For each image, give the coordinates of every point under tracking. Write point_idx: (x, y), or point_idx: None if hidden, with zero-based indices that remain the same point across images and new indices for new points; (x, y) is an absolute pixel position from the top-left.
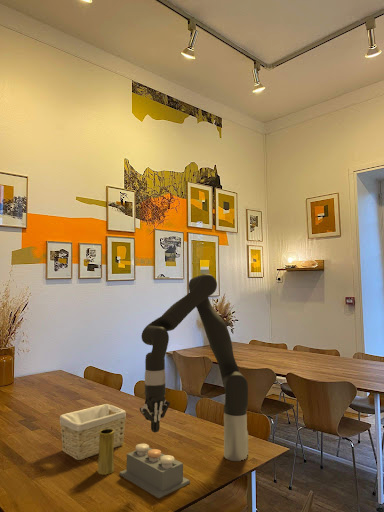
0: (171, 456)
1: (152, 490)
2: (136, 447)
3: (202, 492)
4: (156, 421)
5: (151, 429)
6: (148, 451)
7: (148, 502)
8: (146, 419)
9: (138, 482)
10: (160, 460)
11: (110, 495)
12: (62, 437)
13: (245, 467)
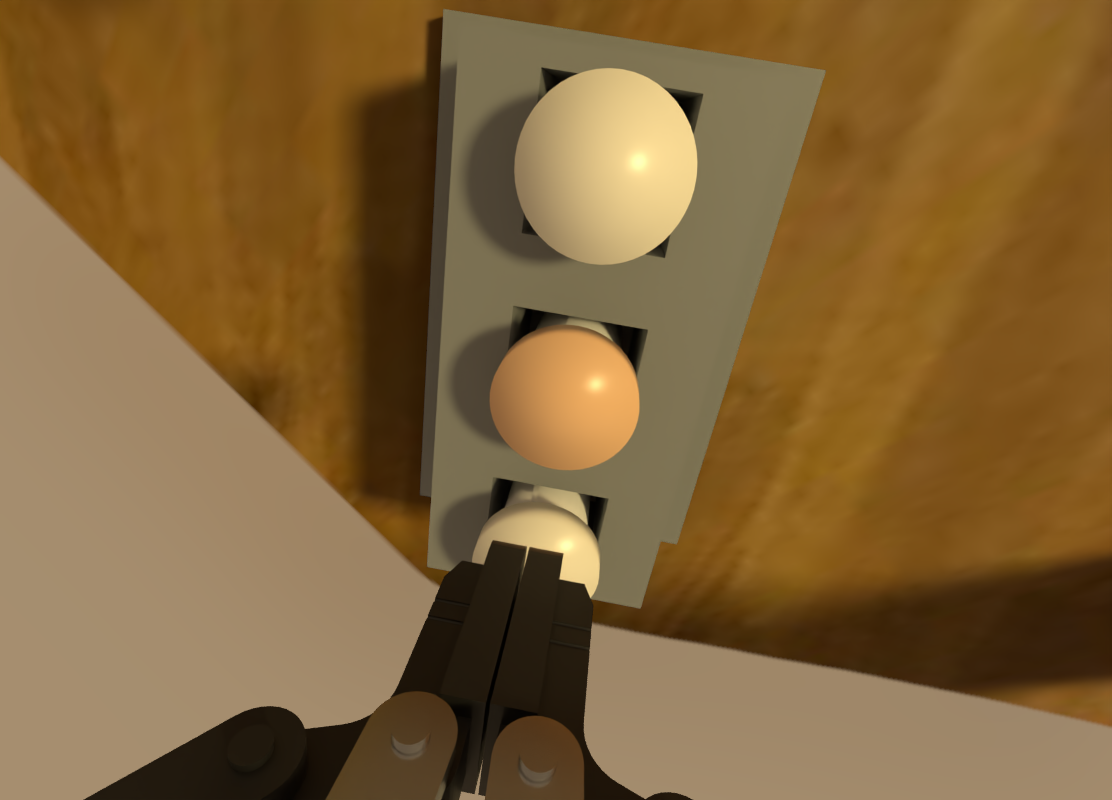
0: (585, 581)
1: (430, 437)
2: (526, 134)
3: (626, 620)
4: (471, 780)
5: (447, 581)
6: (533, 347)
7: (361, 461)
8: (228, 726)
9: (435, 296)
10: (483, 531)
11: (228, 222)
12: None
13: (1044, 693)
